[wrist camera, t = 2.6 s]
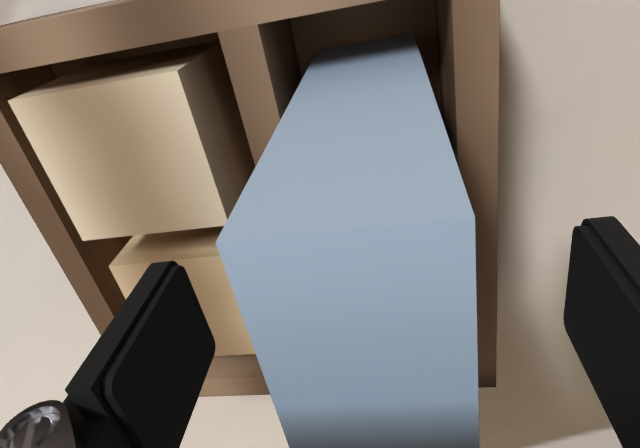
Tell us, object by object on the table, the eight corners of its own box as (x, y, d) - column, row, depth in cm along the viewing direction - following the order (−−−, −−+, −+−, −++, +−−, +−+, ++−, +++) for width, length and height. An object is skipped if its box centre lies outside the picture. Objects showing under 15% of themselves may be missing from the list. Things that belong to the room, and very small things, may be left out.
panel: (412, 32, 14) (474, 216, 5) (431, 265, 19) (481, 588, 10) (317, 49, 15) (216, 242, 6) (358, 271, 19) (338, 582, 10)
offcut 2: (267, 201, 18) (245, 253, 15) (292, 292, 20) (278, 352, 17) (150, 214, 19) (108, 266, 16) (187, 300, 21) (156, 359, 18)
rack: (462, -75, 14) (500, -78, 9) (472, 294, 21) (496, 387, 16) (22, 20, 16) (-102, 50, 12) (163, 315, 23) (116, 399, 19)
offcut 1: (222, 39, 15) (177, 70, 12) (258, 168, 17) (229, 225, 14) (86, 65, 16) (7, 101, 13) (137, 184, 18) (82, 240, 15)
